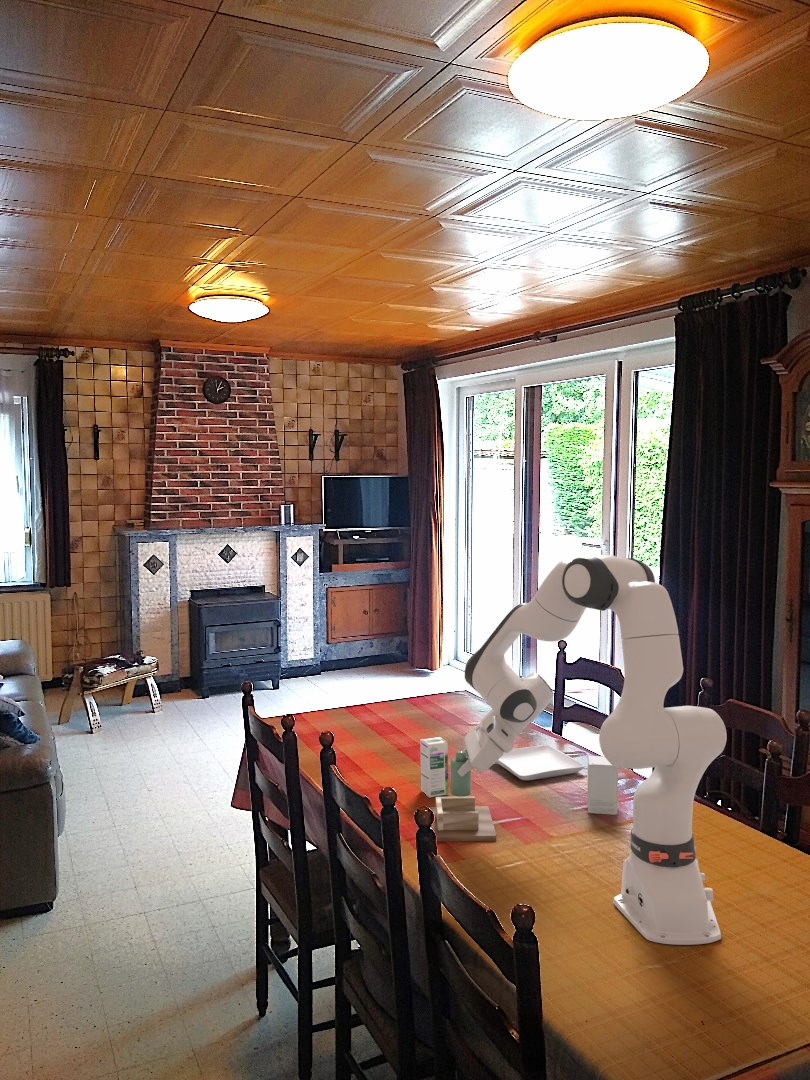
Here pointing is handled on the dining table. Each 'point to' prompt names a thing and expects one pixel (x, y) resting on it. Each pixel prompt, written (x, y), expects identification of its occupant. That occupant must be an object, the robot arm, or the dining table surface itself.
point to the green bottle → (459, 783)
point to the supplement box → (602, 786)
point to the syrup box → (434, 766)
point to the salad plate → (538, 762)
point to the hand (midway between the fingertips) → (458, 769)
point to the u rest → (462, 820)
